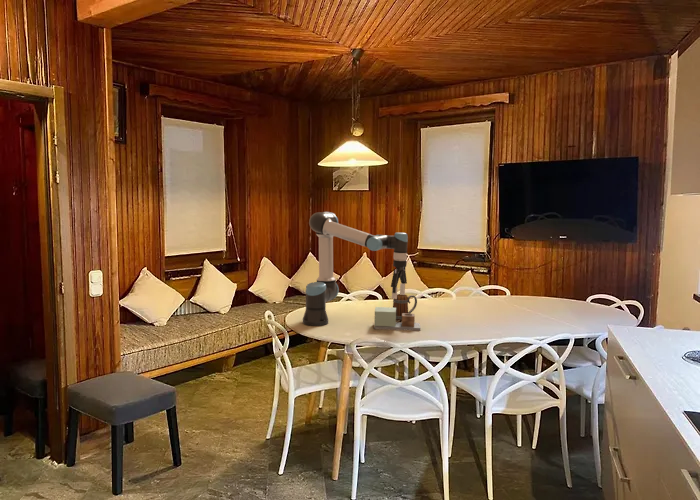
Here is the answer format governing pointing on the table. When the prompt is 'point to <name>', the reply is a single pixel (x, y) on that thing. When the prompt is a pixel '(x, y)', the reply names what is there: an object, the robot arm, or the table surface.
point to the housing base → (400, 327)
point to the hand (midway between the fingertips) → (398, 296)
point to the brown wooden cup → (408, 319)
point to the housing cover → (385, 316)
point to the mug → (403, 305)
